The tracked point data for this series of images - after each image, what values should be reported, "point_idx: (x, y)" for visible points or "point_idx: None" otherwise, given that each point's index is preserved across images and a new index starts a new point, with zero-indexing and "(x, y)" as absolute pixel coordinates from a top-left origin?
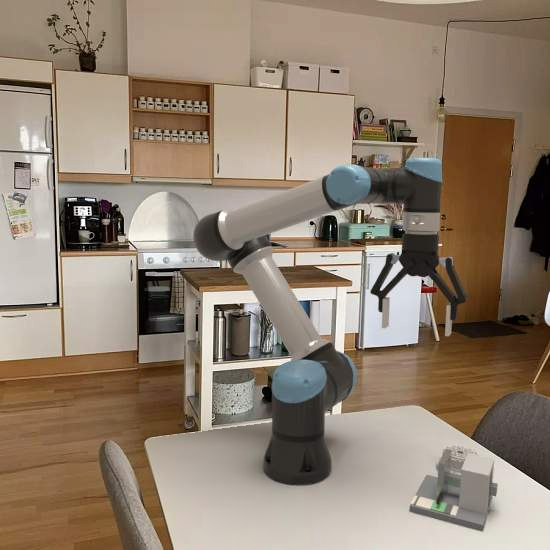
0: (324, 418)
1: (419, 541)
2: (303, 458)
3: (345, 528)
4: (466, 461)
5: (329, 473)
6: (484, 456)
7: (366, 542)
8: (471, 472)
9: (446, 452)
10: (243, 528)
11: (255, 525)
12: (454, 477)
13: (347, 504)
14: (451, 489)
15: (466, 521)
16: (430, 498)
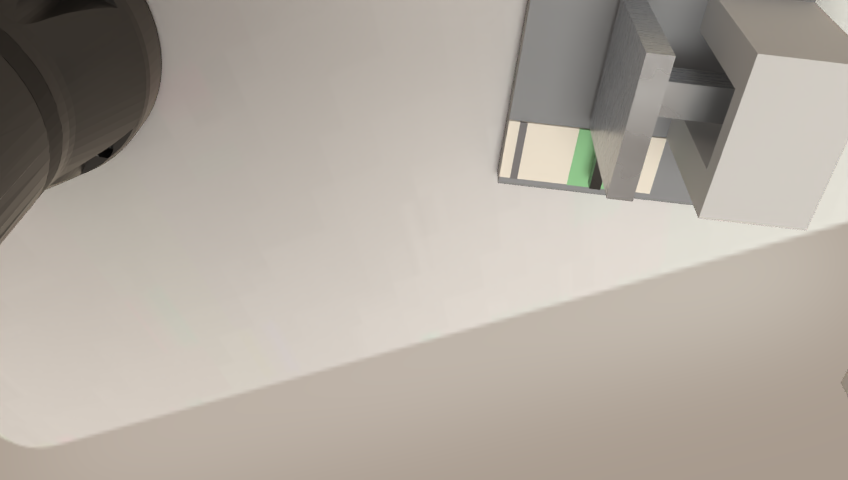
0: (12, 130)
1: (539, 294)
2: (65, 180)
3: (337, 303)
4: (733, 144)
5: (157, 47)
6: (834, 65)
7: (406, 336)
8: (738, 220)
9: (647, 90)
10: (106, 374)
11: (123, 358)
12: (667, 113)
13: (299, 199)
14: None
15: (682, 202)
16: (566, 116)
